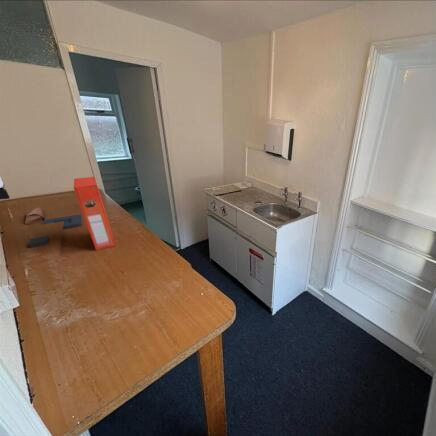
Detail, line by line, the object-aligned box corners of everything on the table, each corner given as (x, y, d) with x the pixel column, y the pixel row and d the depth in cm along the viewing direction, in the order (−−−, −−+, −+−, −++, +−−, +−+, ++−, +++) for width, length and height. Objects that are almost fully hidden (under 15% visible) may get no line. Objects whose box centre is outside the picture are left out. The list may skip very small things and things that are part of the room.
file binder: (95, 250, 112) (73, 187, 100) (93, 236, 124) (74, 178, 111) (115, 245, 117) (97, 184, 104) (112, 232, 129) (95, 176, 116)
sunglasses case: (24, 214, 143) (28, 204, 143) (40, 217, 149) (44, 207, 149) (24, 224, 132) (29, 213, 132) (42, 226, 138) (46, 216, 138)
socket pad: (42, 233, 125) (41, 230, 125) (45, 222, 137) (44, 219, 136) (81, 225, 135) (80, 223, 134) (81, 216, 146) (80, 214, 145)
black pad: (32, 251, 110) (28, 243, 108) (33, 245, 114) (30, 238, 112) (49, 247, 113) (46, 240, 112) (50, 242, 117) (47, 235, 116)
